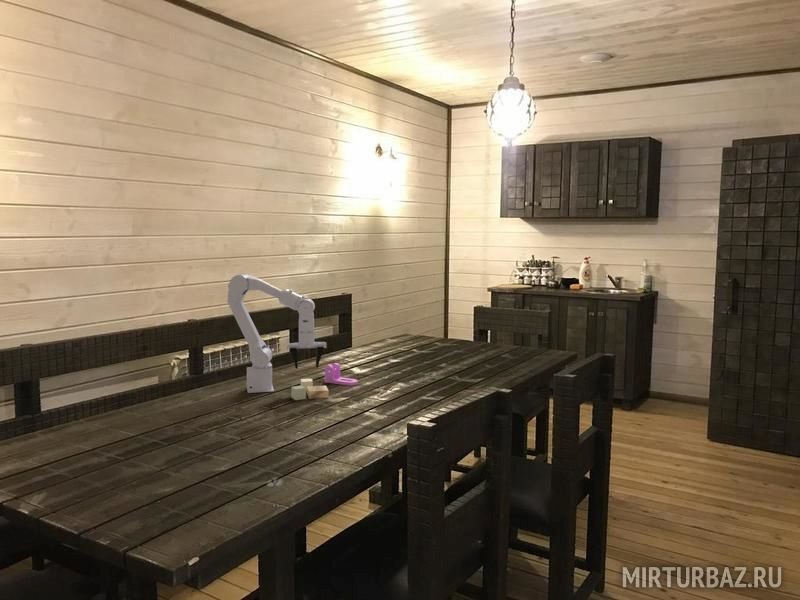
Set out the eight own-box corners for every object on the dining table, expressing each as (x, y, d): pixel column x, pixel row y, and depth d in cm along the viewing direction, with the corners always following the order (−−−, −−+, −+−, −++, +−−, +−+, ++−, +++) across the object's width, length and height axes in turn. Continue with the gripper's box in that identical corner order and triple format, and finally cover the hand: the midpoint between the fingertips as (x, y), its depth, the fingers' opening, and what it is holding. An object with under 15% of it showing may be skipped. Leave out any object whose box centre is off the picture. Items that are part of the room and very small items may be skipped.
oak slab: (308, 399, 227) (308, 391, 226) (306, 394, 233) (306, 386, 233) (328, 398, 228) (328, 390, 228) (325, 393, 235) (325, 385, 235)
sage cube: (295, 400, 224) (295, 389, 224) (291, 397, 228) (291, 386, 227) (306, 399, 226) (306, 388, 226) (302, 396, 230) (301, 385, 229)
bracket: (324, 382, 251) (324, 365, 250) (332, 379, 256) (332, 362, 255) (352, 386, 245) (352, 368, 244) (360, 383, 250) (360, 366, 249)
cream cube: (301, 392, 235) (301, 381, 235) (300, 389, 239) (300, 379, 239) (312, 391, 236) (312, 381, 236) (311, 389, 240) (311, 378, 240)
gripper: (287, 333, 229) (287, 370, 231) (327, 332, 233) (327, 368, 235) (285, 330, 236) (286, 366, 238) (324, 329, 240) (324, 364, 241)
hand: (306, 367), depth 237 cm, fingers open, 7 cm apart
